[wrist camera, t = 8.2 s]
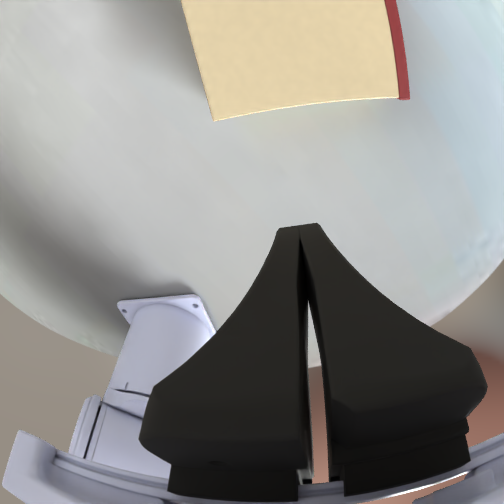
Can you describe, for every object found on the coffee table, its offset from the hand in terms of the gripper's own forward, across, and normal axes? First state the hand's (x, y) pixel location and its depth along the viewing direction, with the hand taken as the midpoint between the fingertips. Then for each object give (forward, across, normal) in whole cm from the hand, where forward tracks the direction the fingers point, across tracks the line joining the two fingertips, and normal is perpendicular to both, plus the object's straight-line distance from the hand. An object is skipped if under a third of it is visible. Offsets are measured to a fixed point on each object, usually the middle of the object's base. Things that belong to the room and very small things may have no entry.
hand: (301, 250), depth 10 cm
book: (+9, -2, -10) cm, 13 cm away
